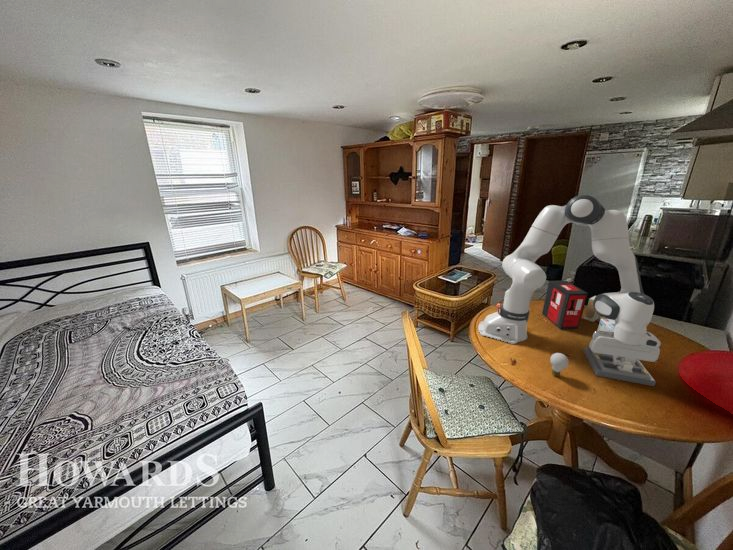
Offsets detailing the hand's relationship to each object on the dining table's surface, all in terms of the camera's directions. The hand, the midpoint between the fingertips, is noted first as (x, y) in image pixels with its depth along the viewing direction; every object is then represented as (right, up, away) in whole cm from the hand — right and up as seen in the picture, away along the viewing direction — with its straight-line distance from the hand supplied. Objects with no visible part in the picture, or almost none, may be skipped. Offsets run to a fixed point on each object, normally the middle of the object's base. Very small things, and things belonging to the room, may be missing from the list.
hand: (617, 364), depth 112 cm
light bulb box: (+13, +3, +19) cm, 24 cm away
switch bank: (+4, -3, +5) cm, 7 cm away
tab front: (+3, -2, 0) cm, 4 cm away
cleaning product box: (+4, +11, +40) cm, 42 cm away
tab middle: (+7, -1, +3) cm, 8 cm away
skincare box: (+22, +12, +41) cm, 48 cm away
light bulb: (-23, -5, +2) cm, 24 cm away
